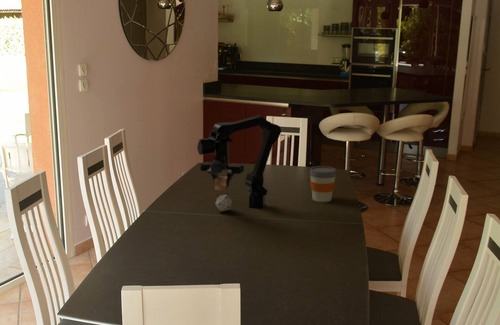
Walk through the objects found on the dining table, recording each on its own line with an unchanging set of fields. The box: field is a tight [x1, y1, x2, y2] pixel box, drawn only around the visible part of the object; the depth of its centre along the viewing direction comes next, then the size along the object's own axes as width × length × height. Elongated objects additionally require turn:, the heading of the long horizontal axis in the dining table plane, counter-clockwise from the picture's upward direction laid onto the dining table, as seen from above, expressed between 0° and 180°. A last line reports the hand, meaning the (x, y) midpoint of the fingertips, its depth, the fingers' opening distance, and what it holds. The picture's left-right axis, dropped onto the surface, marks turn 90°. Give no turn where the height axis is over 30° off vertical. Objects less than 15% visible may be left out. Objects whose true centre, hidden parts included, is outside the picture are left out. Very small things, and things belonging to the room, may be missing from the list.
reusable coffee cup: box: [309, 165, 337, 203], centre depth 265 cm, size 13×13×15 cm
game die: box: [212, 192, 235, 214], centre depth 247 cm, size 9×8×10 cm
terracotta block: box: [214, 175, 230, 192], centre depth 245 cm, size 5×5×5 cm
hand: (222, 186), depth 245 cm, fingers closed on terracotta block, 5 cm apart
